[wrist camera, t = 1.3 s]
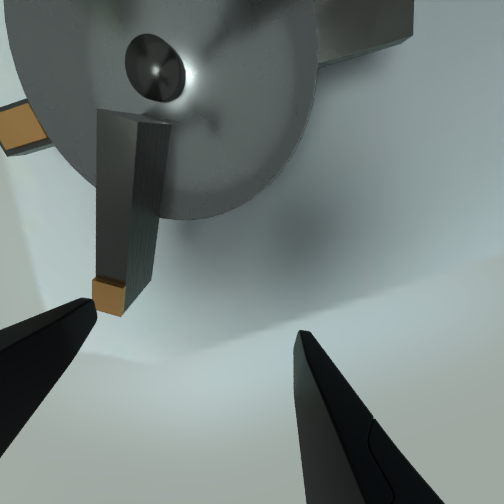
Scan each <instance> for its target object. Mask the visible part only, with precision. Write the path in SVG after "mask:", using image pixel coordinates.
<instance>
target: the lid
mask: <svg viewBox="0 0 504 504" xmlns="http://www.w3.org/2000/svg"><path fill="white" fill-rule="evenodd" d="M4 12H5V22H6V28H7V34H8V39H9V45H10V49H11V53H12V56H13V60H14V64H15V67H16V71H17V74H18V76H19V79H20V82H21V84H22V87H23V90H24V92H25V95H26V97H27V99H28V101H29V103H30V105H31V107H32V109H33V111H34V113H35V115H36V117H37V119H38V120H39V122H40V124H41V125H42V127H43V129H44V131H45V132H46V134H47V135H48V137H49V138H50V139H51V141H52V142H53V144H54V145H55V146H56V148H57V149H58V151H59V152H60V153H61V154H62V155H63V156H64V158H65V159H66V160H67V161H68V162H69V163H70V165H71V166H72V167H73V168H74V169H75V170H76V171H77V172H78V173H79V174H80V175H82V176H83V177H84V178H85V179H86V180H87V181H88V182H89V183H91V184H92V185H93V186H94V187H96V277H95V278H94V279H93V280H92V299H93V300H94V302H95V307H96V310H97V311H101V312H105V313H108V314H112V315H115V316H119V317H121V316H122V315H123V314H124V312H125V311H126V310H127V309H128V308H129V306H130V305H131V304H132V303H133V302H134V300H135V299H136V298H137V297H138V295H139V294H140V293H141V292H142V291H143V289H144V288H145V287H146V286H147V285H148V283H149V282H150V281H151V278H152V271H153V263H154V255H155V248H156V240H157V232H158V224H159V218H165V219H173V220H195V219H202V218H208V217H212V216H215V215H219V214H223V213H225V212H227V211H229V210H232V209H234V208H236V207H238V206H240V205H241V204H243V203H245V202H246V201H248V200H250V199H251V198H252V197H254V196H255V195H256V194H257V193H259V192H260V191H261V190H262V189H264V188H265V187H266V186H267V184H268V183H269V182H270V181H271V180H272V179H273V178H274V177H275V176H276V175H277V174H278V172H279V171H280V170H281V168H282V167H283V165H284V164H285V163H286V161H287V160H288V158H289V156H290V155H291V153H292V151H293V149H294V148H295V146H296V144H297V142H298V140H299V137H300V135H301V132H302V130H303V128H304V125H305V123H306V119H307V116H308V113H309V109H310V106H311V102H312V97H313V92H314V86H315V80H316V71H317V55H318V43H317V22H316V15H315V8H314V2H313V0H4Z"/></svg>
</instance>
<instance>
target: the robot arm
mask: <svg viewBox="0 0 504 504" xmlns="http://www.w3.org/2000/svg"><path fill="white" fill-rule="evenodd" d="M96 321H97V311H96V307H95V302H94V300H93V299H89V298H79V299H76V300H74V301H71V302H69V303H66V304H64V305H61V306H59V307H56V308H54V309H51V310H49V311H46V312H44V313H41V314H39V315H37V316H34V317H32V318H29V319H27V320H24V321H22V322H19V323H17V324H14V325H12V326H9V327H7V328H4V329H2V330H0V458H1V456H2V455H3V453H4V452H5V451H6V449H7V448H8V447H9V445H10V444H11V443H12V441H13V440H14V439H15V437H16V436H17V435H18V433H19V432H20V431H21V429H22V428H23V427H24V425H25V424H26V422H27V421H28V420H29V419H30V417H31V416H32V415H33V413H34V412H35V410H36V409H37V408H38V406H39V405H40V404H41V402H42V401H43V400H44V398H45V397H46V396H47V394H48V393H49V392H50V390H51V389H52V388H53V386H54V384H55V383H56V382H57V381H58V379H59V378H60V377H61V376H62V374H63V373H64V372H65V370H66V369H67V367H68V366H69V365H70V363H71V362H72V360H73V359H74V357H75V356H76V354H77V353H78V351H79V350H80V348H81V346H82V345H83V343H84V341H85V340H86V338H87V336H88V335H89V333H90V331H91V330H92V328H93V326H94V325H95V323H96ZM293 354H294V400H295V408H296V417H297V426H298V435H299V443H300V451H301V460H302V469H303V477H304V486H305V494H306V503H307V504H445V503H444V502H443V501H442V500H441V499H440V498H439V496H438V495H437V494H436V493H435V492H434V491H433V489H432V488H431V487H430V486H429V485H428V484H427V482H426V481H425V480H424V479H423V478H422V477H421V476H420V474H419V473H418V472H417V471H416V470H415V468H414V467H413V466H412V465H411V464H410V462H409V461H408V460H407V459H406V458H405V456H404V455H403V454H402V453H401V452H400V450H399V449H398V448H397V447H396V445H395V444H394V443H393V441H392V440H391V439H390V438H389V436H388V435H387V434H386V432H385V431H384V430H383V428H382V427H381V426H380V424H379V423H378V422H377V421H376V419H373V415H372V414H371V413H370V411H369V410H368V408H367V407H366V406H365V405H364V403H363V402H362V400H361V399H360V398H359V396H358V395H357V394H356V393H355V391H354V390H353V388H352V387H351V386H350V384H349V383H348V382H347V380H346V379H345V378H344V376H343V375H342V374H341V372H340V371H339V370H338V368H337V367H336V366H335V364H334V363H333V362H332V360H331V359H330V357H329V356H328V355H327V354H326V352H325V351H324V349H323V348H322V347H321V345H320V344H319V343H318V342H317V340H316V339H315V338H314V336H313V335H312V333H311V332H309V331H304V330H299V332H298V334H297V337H296V341H295V345H294V352H293Z"/></svg>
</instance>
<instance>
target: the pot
mask: <svg viewBox="0 0 504 504" xmlns="http://www.w3.org/2000/svg"><path fill="white" fill-rule="evenodd" d="M313 2H314V8H315V15H316V22H317V43H318V55H317V69H318V68H320V67H324V66H327V65H331V64H334V63H337V62H341V61H344V60H347V59H351V58H354V57H358V56H361V55H364V54H368V53H371V52H374V51H378V50H381V49H385V48H388V47H391V46H395V45H398V44H401V43H403V42H404V41H405V40H407V39H408V38H410V37H411V36H413V17H414V0H313ZM316 82H317V71H316V80H315V86H314V92H313V97H312V102H311V106H310V109H309V113H308V116H307V119H306V123H305V125H304V128H303V130H302V132H301V135H300V137H299V140H298V142H297V144H296V146H295V148H294V149H293V151H292V153H291V155H290V156H289V158H288V160H287V161H286V163H285V164H284V165H283V167H282V168H281V170H280V171H279V172H278V174H277V175H276V176H275V177H274V178H273V179H272V180H271V181H270V182H269V183H268V184H267V186H268V185H269V184H270V183H271V182H272V181H273V180H274V179H275V178H276V177H277V176H278V175H279V173H280V172H281V171H282V169H283V168H284V167H285V165H286V164H287V163H288V161H289V160H290V158H291V156H292V154H293V153H294V151H295V149H296V147H297V146H298V144H299V142H300V139H301V137H302V134H303V132H304V130H305V127H306V125H307V122H308V118H309V115H310V111H311V108H312V105H313V99H314V93H315V88H316ZM0 146H1V147H2V149H3V151H4V152H5V154H6V155H7V157H9V156H20V155H26V154H30V153H33V152H37V151H40V150H43V149H47V148H50V147H53V146H55V145H54V144H53V142H52V141H51V139H50V138H49V137H48V135H47V134H46V132H45V131H44V129H43V127H42V125H41V124H40V122H39V120H38V119H37V117H36V115H35V113H34V111H33V109H32V107H31V105H30V103H29V101H28V99H24V100H21V101H18V102H15V103H12V104H9V105H6V106H3V107H0ZM267 186H266V187H267ZM266 187H265V188H266ZM265 188H264V189H265ZM264 189H262V190H264ZM262 190H261V191H262ZM261 191H260V192H261ZM260 192H259V193H260ZM259 193H257V194H259ZM257 194H256V195H257ZM256 195H255V196H256ZM255 196H254V197H255ZM254 197H252V198H254ZM252 198H251V199H252ZM248 201H249V200H248ZM246 202H247V201H246ZM243 204H244V203H243ZM241 205H242V204H241Z"/></svg>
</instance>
